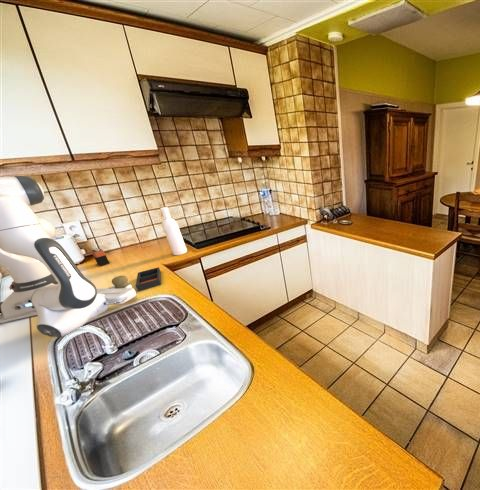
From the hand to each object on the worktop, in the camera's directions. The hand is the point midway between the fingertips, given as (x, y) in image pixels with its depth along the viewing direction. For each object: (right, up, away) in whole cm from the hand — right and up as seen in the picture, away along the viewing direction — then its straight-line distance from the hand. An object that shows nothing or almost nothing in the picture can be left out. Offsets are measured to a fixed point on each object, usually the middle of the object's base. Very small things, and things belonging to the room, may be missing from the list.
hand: (124, 285), depth 118 cm
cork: (0, -6, +2) cm, 6 cm away
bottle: (-13, +13, +53) cm, 56 cm away
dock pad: (-5, -1, +19) cm, 20 cm away
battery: (-53, +7, +44) cm, 69 cm away
